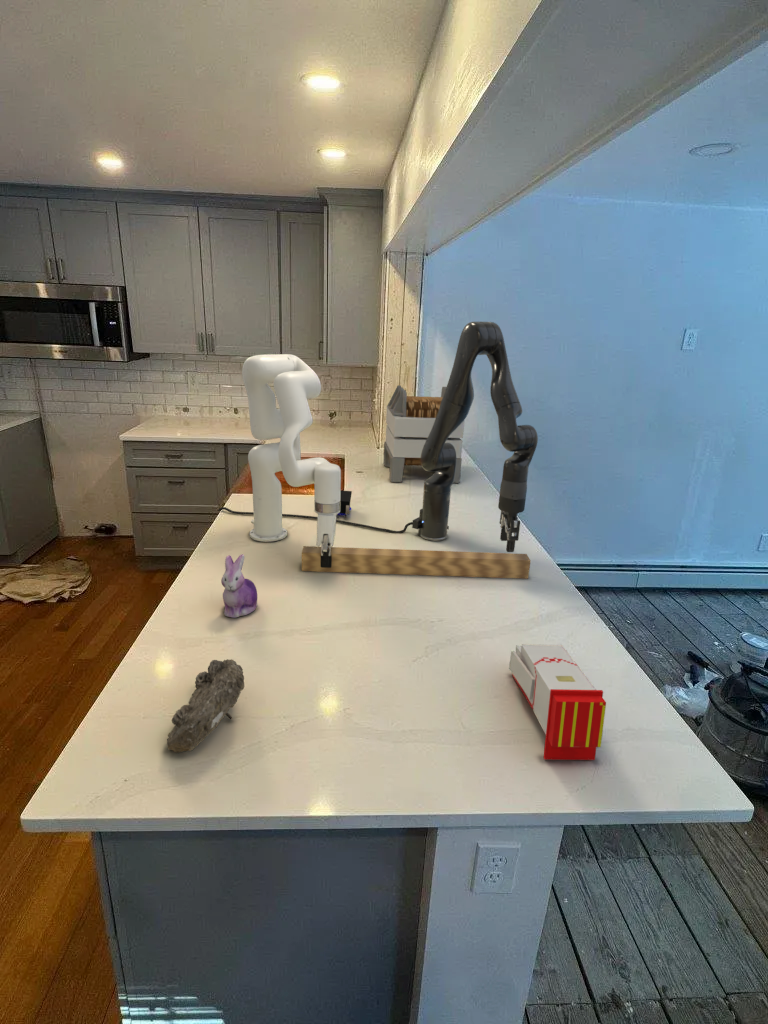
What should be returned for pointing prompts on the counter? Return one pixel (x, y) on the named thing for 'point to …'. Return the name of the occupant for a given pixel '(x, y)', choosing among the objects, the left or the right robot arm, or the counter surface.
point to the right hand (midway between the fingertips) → (506, 545)
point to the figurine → (237, 589)
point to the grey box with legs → (413, 432)
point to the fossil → (206, 705)
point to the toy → (560, 700)
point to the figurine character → (345, 503)
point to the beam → (419, 562)
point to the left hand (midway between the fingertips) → (326, 562)
